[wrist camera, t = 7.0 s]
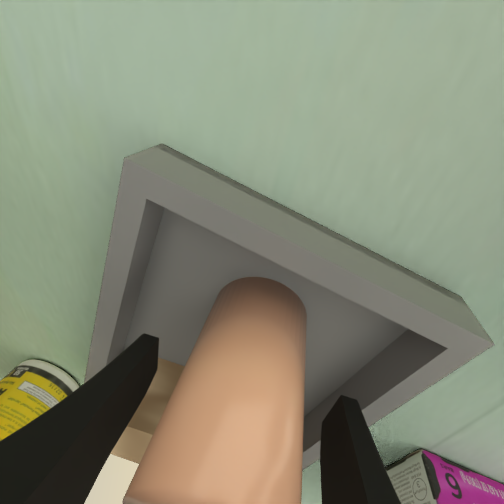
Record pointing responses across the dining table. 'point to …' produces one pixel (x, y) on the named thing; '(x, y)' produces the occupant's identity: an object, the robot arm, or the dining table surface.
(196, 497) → the flesh-toned capsule
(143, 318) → the tray
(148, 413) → the beech block
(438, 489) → the candy bar box
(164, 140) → the dining table surface
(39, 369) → the supplement bottle
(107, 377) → the robot arm
